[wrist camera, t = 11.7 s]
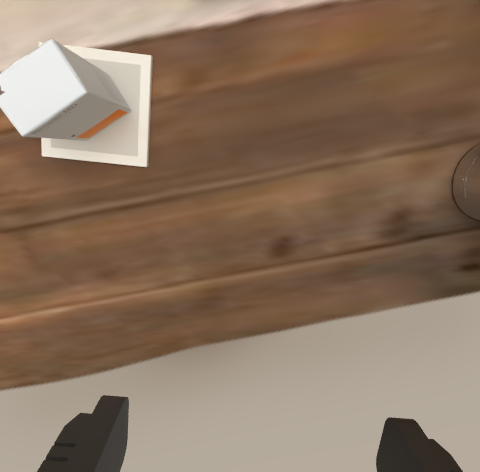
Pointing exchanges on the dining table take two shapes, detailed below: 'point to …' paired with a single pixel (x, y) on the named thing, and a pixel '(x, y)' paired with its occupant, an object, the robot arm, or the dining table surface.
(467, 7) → the dining table surface
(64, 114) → the skincare box
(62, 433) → the robot arm
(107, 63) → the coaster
